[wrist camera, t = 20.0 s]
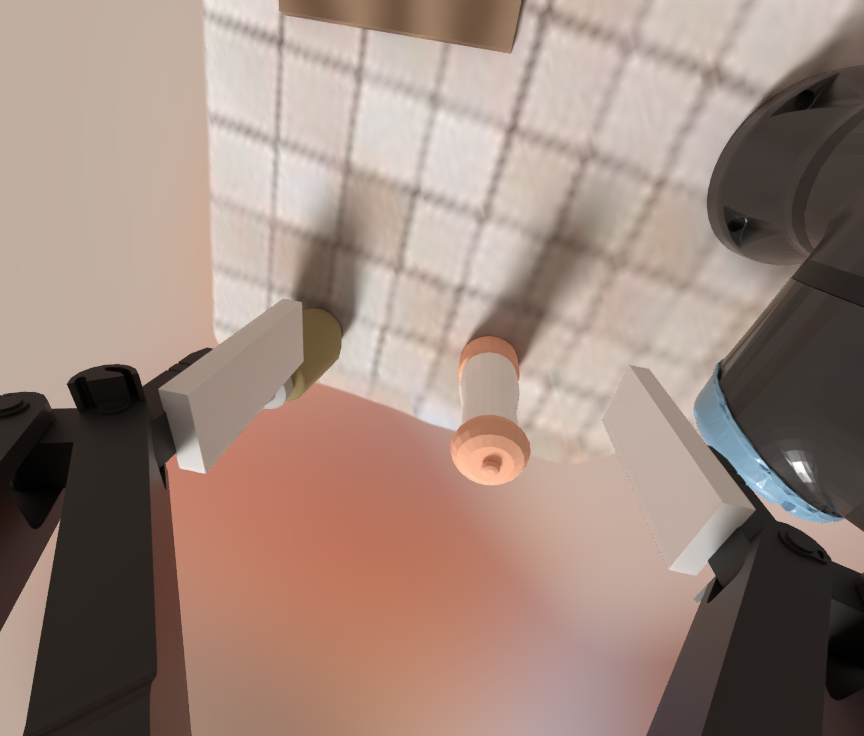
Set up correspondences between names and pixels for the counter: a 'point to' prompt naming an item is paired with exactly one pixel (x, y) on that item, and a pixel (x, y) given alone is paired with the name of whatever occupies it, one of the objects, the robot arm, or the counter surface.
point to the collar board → (421, 18)
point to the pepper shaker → (489, 414)
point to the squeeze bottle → (311, 355)
